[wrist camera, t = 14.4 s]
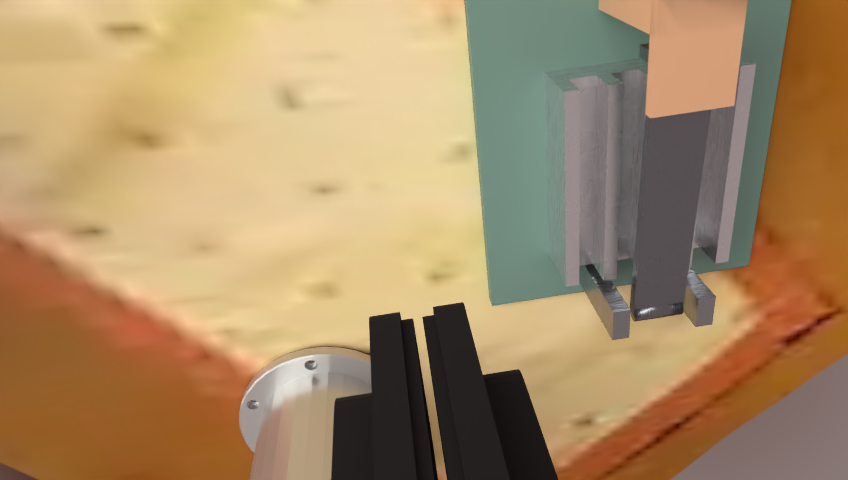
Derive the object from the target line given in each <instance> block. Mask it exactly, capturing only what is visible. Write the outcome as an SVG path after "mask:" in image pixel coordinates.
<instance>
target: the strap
mask: <svg viewBox="0 0 848 480" xmlns="http://www.w3.org/2000/svg"><path fill="white" fill-rule="evenodd" d="M639 57H640V58H642V59H643V60H644V61H646V62H647V63H648V58H649V43H646V44H640V51H639ZM710 116H711V109H710V110H703V111H696V112H690V113H683V114H676V115H670V116H663V117H656V118H649V117H648V116H647V115H646V118H645V130H644V142H643V154H642V166H641V178H640V191H639V203H638V215H637V227H636V239H635V251H634V263H633V276H632V288H631V300H630V314H631V317H632V319H633V320H634V321H641V320H647V319H654V318H660V317H666V316H673V315H679V314H682V313H683V310H684V307H683V306H684V299H685V292H686V285H687V278H688V271H689V264H690V257H691V249H692V242H693V235H694V228H695V221H696V214H697V207H698V200H699V193H700V186H701V179H702V172H703V165H704V158H705V151H706V144H707V137H708V130H709V123H710Z"/></svg>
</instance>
